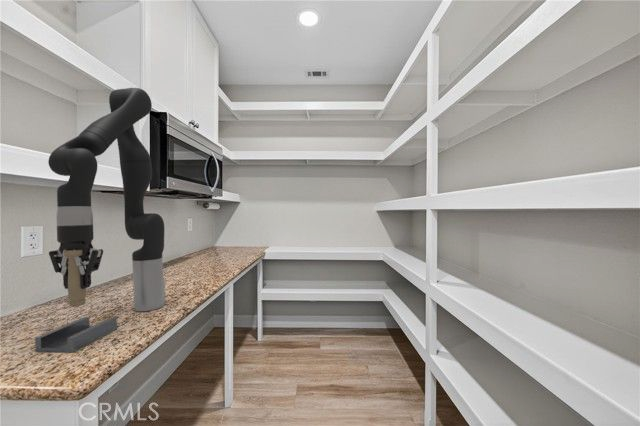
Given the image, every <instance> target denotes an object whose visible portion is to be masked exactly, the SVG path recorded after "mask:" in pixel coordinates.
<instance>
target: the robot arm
mask: <svg viewBox="0 0 640 426" xmlns="http://www.w3.org/2000/svg"><path fill="white" fill-rule="evenodd" d="M108 102H109V109H110V113H108V114H106V115H104V116H102V117H100V118H97V120H94V121H93V122H91V123H90V124H89V125H88V126H87V127H86V128H84V129H83V131H81V132H80V133H79V134H78V135H77V136H76V137H74V138H72V139H70V140H68V141H66V142H65V143H63V144H62V145H61V144H60V145H59V146H58V147H57V148H55V149H54V150H53V151H52V152H51V153H50V155H49V158H48V161H47V162H48V163H47V164H48V166H49V168H50V170H51V171H52V172H53V173H55V174H57V175H59V176H64V177H69V178H68V181H67V182H65V183H64V184H61V185H59V186H58V187H57V191H56V199H57V201H56V203H57V205H56V206H57V209H56V210H57V211H56V241H57V243H59V247H58V249H56V250H50V251H48V256H49V258H50V260H51V263H52V267H53V270H54V273H60V274H61V275H62V277H63V278H62V280H63V282H62V284H63V286H64V289H65V290H68V258H67V257H65V256H64V253H63V251H64V250H82V255H81V256H78V257H76V258H75V261H76V265H77V266H78V267H79V269H80V273H81V274H82V275H80V283H81V289H85V288H86V289H88V288H90V287H91V284H92V273H93V272H96V271H98V270H99V268H100V265H101V261H102V257H103V254H104V249H102V248H100V249H98V248H95V247H94V246H93V244H92V242H93V240H94V216H93V211H92V210H93V209H92V189H93V186H94V183H95V180H96V179H95V178H96V176H97V171H98V161H97V158H96V157H99V156H101V155H103V154H104V153H105V152H106V151H107V150H108V148H109V147H110V146H111V145H112V144H113V143H114V142H115V141H116V140H117V148H118V155H119V164H120V165H119V167H120V172H121V179H122V188H123V199H124V229H125V232H126V234H127V236H128V237H129V238H130V239H132V240H135V241H137V240H139V241H142V240H143V243H142V247H141V248H139V249H137V250H134V251H133V252H132V253H131V254H132V255H131V256H132V257H131V260H132V261H131V262H132V282H133V283H132V284H133V288H132V289H133V310H134V311H136V312H149V311H154V310H157V309H160V308H162V307H163V306H165V303H166V290H165V287H166V286H165V277H164V268H163V267H164V265H163V252H164V250H165V223H164V219H163V217H162V216H161V215H160V214H158V213H153V212H152V213H150V212H149V213H145V209H144V208H145V207H144V200H145V199H144V197H145V195H146V193H147V191H148V188H149V186H150V184H151V182H152V179H153V167H152V166H153V165H152V159H151V155H150V154H149V151H148V150H147V148H146V147H145V146H144V144H143V143H142V142H141V140H140V139H139V137H138V136H137V134H136V132H135V131H136V130H135V127H134V126H135V124H136V123H137V122H139V121H140V120H142V119H143V118H145V117H146V116H148V115H149V114H150V113H151V110H152V108H153V107H152V100H151V97H150V96H149V94H148V93H147V92H146V91H145V90H144V89H142V88H139V87H128V88H127V87H126V88H118V89H113V90H112V91H110V93H109V98H108ZM82 261H84V262H82Z"/></svg>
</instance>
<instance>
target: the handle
mask: <svg viewBox="0 0 640 426" xmlns="http://www.w3.org/2000/svg"><path fill="white" fill-rule="evenodd" d="M63 253H64V256H65V257H67V258H68V289H67V294H68V300H69V306H70V307H71V308H76V307H81V306H83V305H85V304H86V302H87V301H86V297H87V288H85V289H81V283H80V275H82V274H81V273H80V269H79V267H78V266H77V265H76V261H75V258H76V257H78V256H81V255H82V250H64V251H63ZM82 262H85V261H82Z"/></svg>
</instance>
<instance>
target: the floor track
mask: <svg viewBox="0 0 640 426" xmlns="http://www.w3.org/2000/svg"><path fill="white" fill-rule="evenodd" d="M117 323H118V321H117V317H116V316H111V317H109V318H107V319H105V320H103V321H100V322H98V323H96V324H94V325H90V317H89V316H84V317H81V318H79V319H76V320H74V321H72V322H69V323H67V324H65V325H62V326H59V327H57V328H56V329H52V330H51V331H48V332H45V333H43V334H41V335H38V336H36V337H35V338H34V341H35V342H34V343H35V353H75V352H78V351H79V350H81V349H83V348H84V347H86V346H89V345H90V344H92V343H94V342H95V341H97V340H99V339H101V338H103V337H105V336H107V335H109V334H111V333H113V332H114V331H117V330H118V324H117Z"/></svg>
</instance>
